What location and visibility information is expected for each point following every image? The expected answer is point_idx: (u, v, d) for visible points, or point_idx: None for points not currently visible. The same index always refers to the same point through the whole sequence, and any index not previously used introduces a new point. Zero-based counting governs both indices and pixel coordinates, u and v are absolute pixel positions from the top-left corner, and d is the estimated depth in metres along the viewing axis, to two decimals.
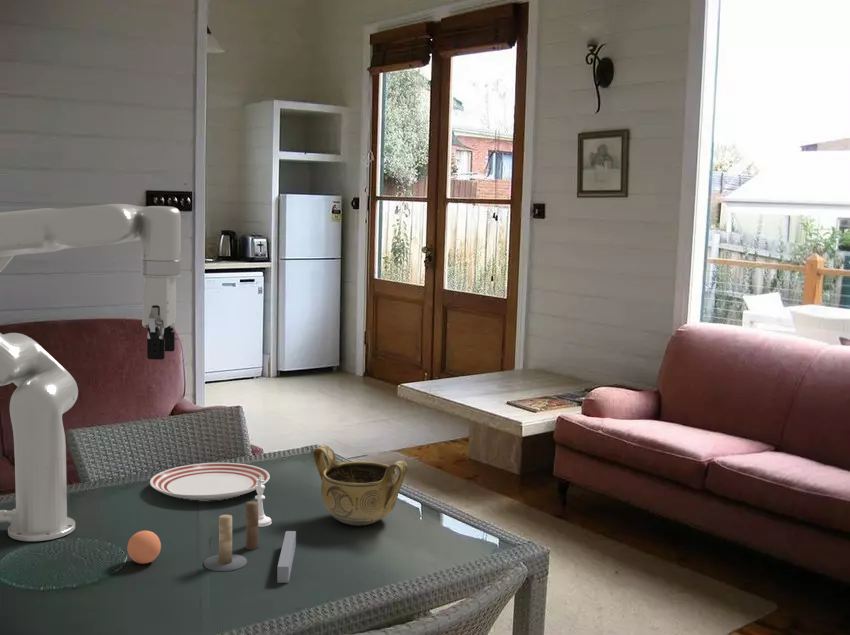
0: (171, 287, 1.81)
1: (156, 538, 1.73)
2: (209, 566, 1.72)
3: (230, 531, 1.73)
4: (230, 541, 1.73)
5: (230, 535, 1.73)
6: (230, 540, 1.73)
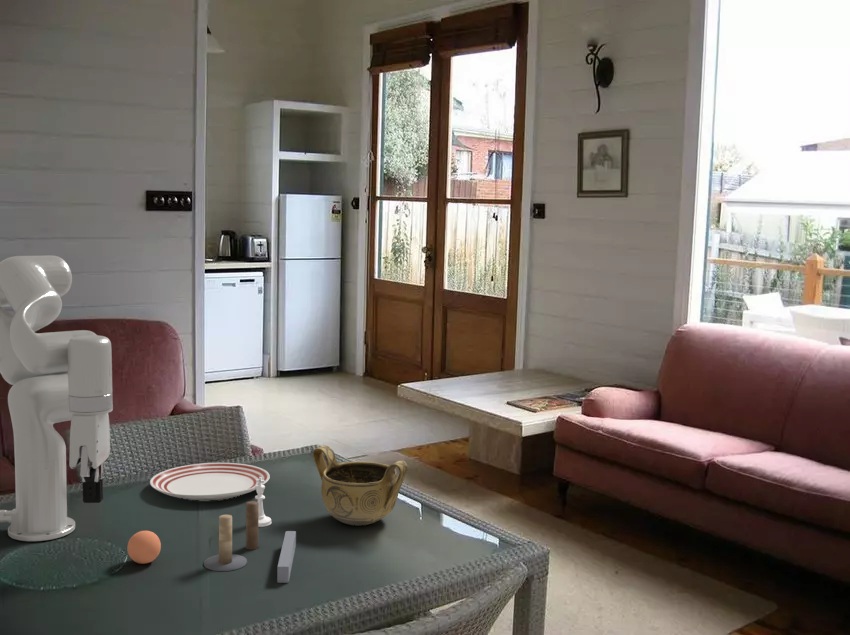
0: (101, 424, 1.67)
1: (156, 538, 1.73)
2: (209, 566, 1.72)
3: (230, 531, 1.73)
4: (230, 541, 1.73)
5: (230, 535, 1.73)
6: (230, 540, 1.73)
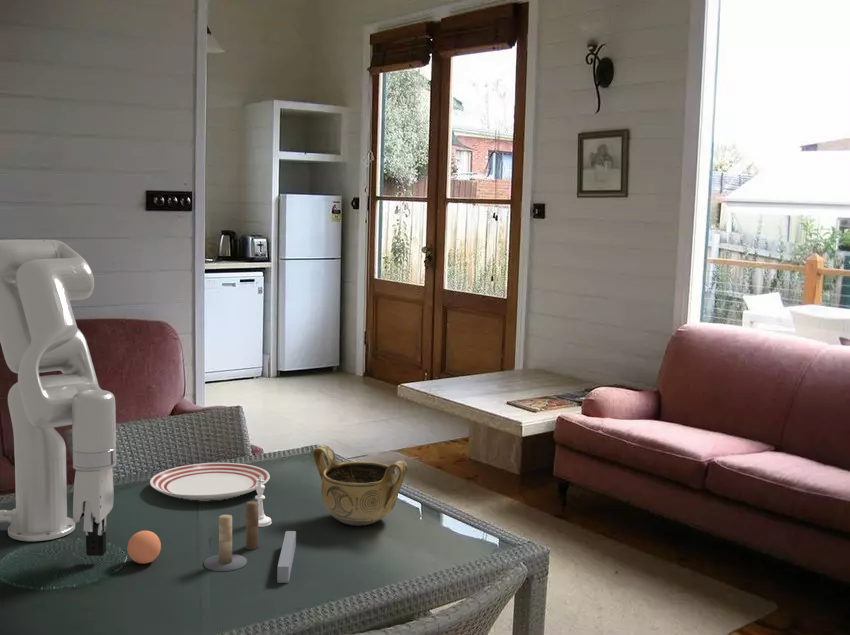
0: (105, 478, 1.69)
1: (156, 538, 1.73)
2: (209, 566, 1.72)
3: (230, 531, 1.73)
4: (230, 541, 1.73)
5: (230, 535, 1.73)
6: (230, 540, 1.73)
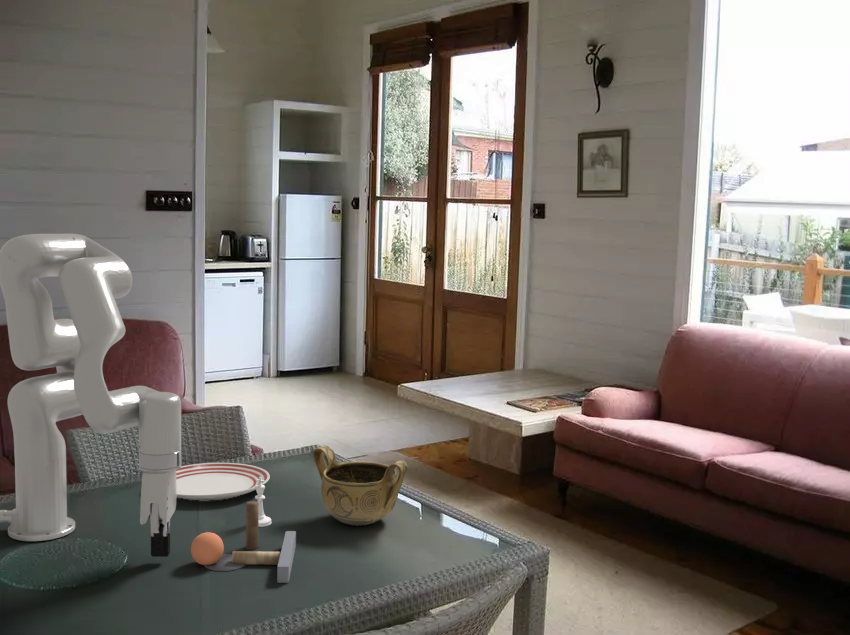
0: (171, 480, 1.70)
1: None
2: (209, 566, 1.72)
3: (266, 564, 1.74)
4: (256, 564, 1.74)
5: (262, 564, 1.74)
6: (257, 564, 1.74)
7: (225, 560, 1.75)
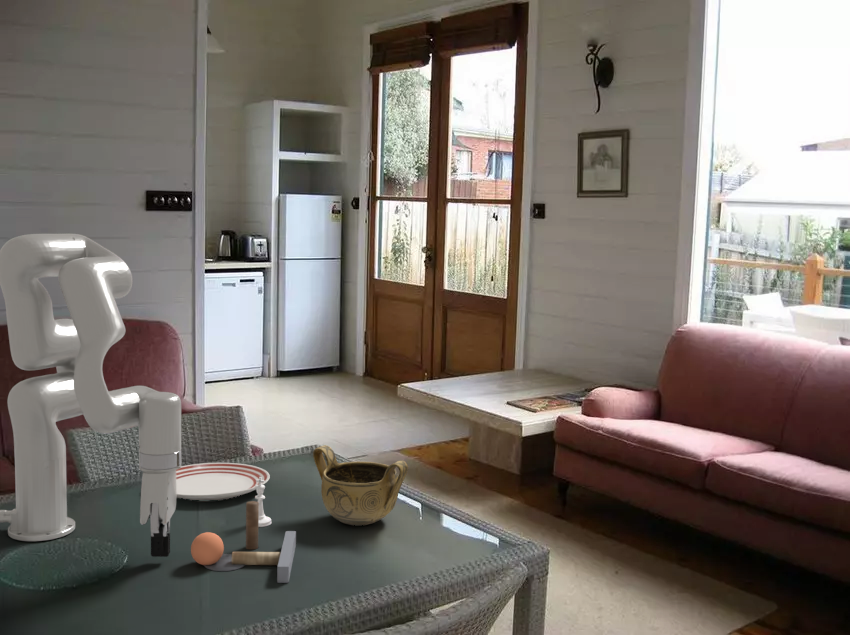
0: (171, 480, 1.70)
1: None
2: (209, 566, 1.72)
3: None
4: None
5: None
6: None
7: (225, 560, 1.75)
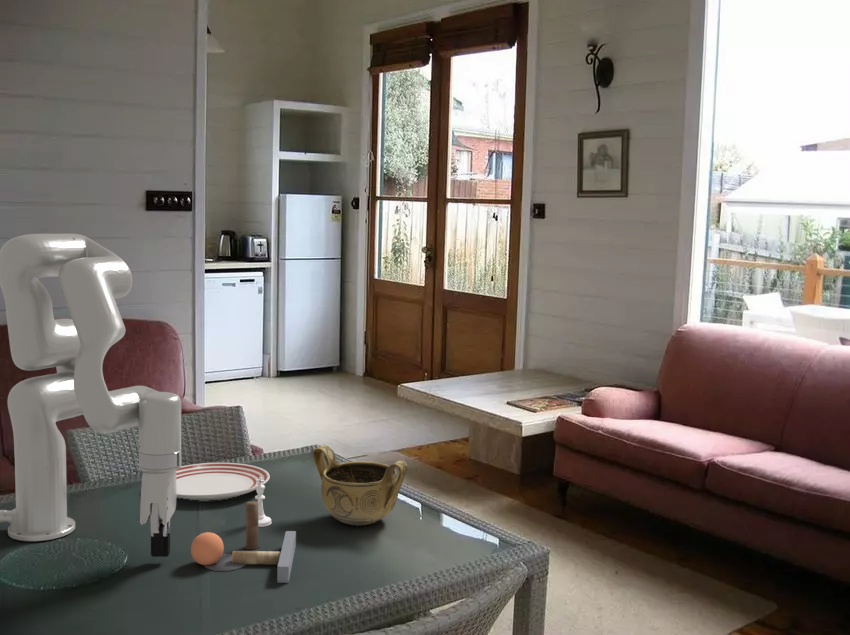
0: (171, 480, 1.70)
1: None
2: (209, 566, 1.72)
3: None
4: None
5: None
6: None
7: (225, 560, 1.75)
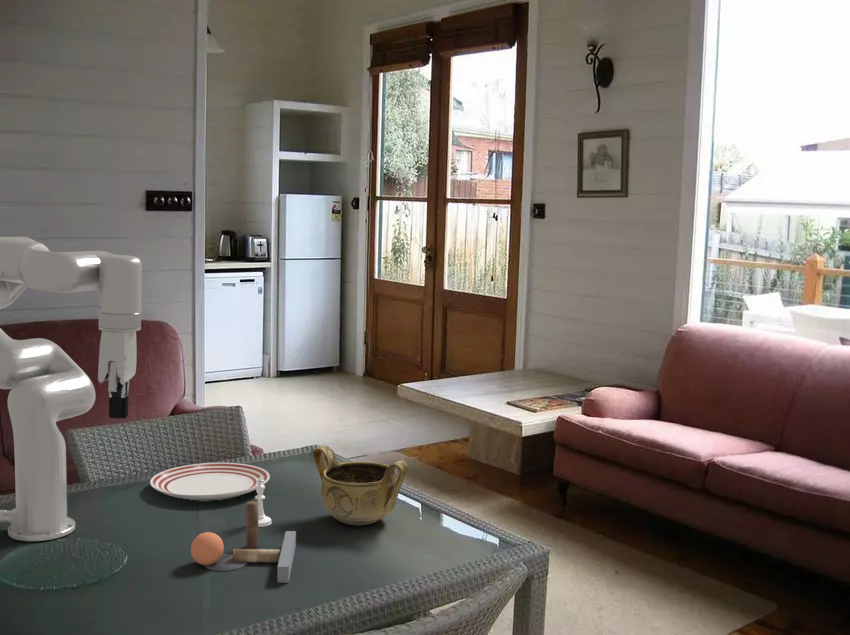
0: (130, 341, 1.72)
1: None
2: (209, 566, 1.72)
3: (267, 559, 1.75)
4: (256, 559, 1.74)
5: (262, 559, 1.75)
6: (257, 559, 1.74)
7: (225, 560, 1.75)
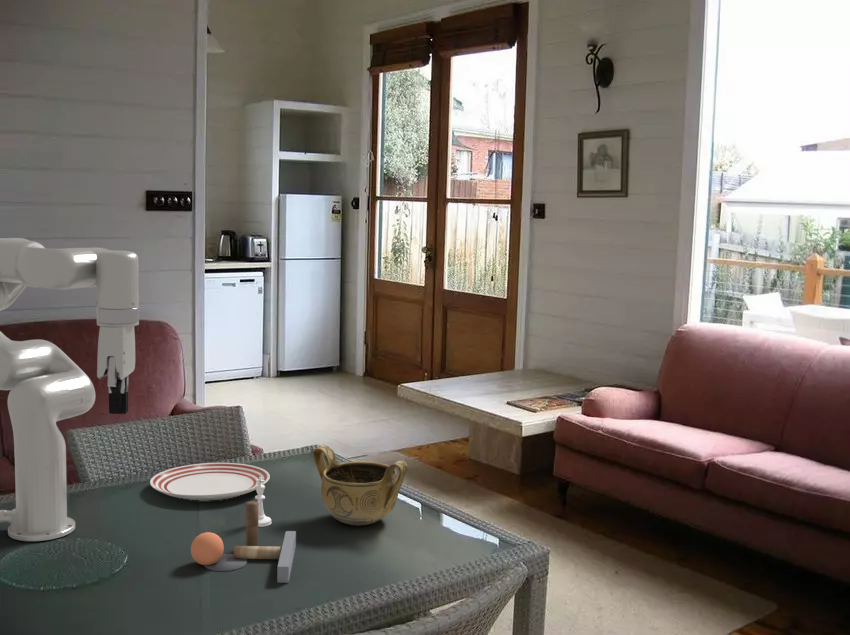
0: (128, 336, 1.72)
1: None
2: (209, 566, 1.72)
3: (268, 548, 1.77)
4: (257, 548, 1.77)
5: (264, 548, 1.77)
6: (258, 548, 1.77)
7: (225, 560, 1.75)
